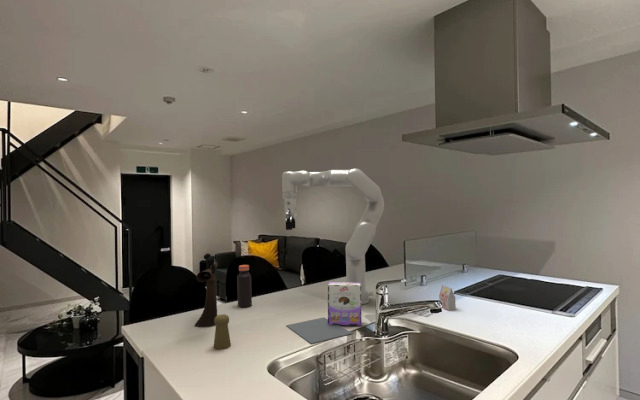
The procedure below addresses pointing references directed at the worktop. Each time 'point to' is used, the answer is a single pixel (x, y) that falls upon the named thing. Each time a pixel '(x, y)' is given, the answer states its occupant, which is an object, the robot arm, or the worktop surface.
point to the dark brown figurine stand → (208, 293)
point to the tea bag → (447, 298)
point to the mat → (318, 330)
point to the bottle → (244, 287)
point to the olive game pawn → (221, 332)
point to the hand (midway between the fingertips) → (290, 228)
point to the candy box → (344, 303)
